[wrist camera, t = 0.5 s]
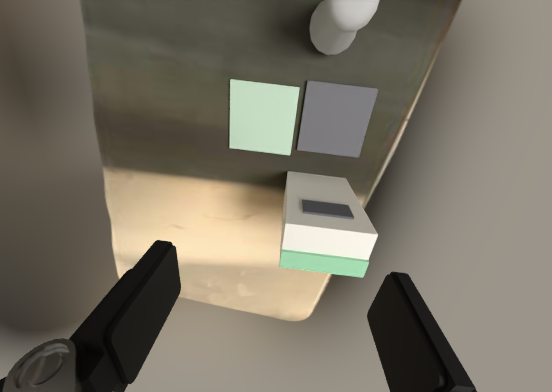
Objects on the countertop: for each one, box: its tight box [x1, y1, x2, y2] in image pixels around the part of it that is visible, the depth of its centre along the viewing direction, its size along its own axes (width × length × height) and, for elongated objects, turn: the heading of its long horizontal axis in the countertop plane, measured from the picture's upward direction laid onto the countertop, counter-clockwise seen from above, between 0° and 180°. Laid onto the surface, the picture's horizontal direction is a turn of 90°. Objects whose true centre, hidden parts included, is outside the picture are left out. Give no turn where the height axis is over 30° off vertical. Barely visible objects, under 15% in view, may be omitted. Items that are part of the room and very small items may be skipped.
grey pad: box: [297, 81, 378, 157], centre depth 34 cm, size 10×10×1 cm
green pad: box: [230, 79, 299, 155], centre depth 34 cm, size 10×10×1 cm
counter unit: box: [279, 171, 378, 277], centre depth 32 cm, size 7×10×16 cm, turn 84°
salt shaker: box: [309, 0, 379, 55], centre depth 23 cm, size 6×6×13 cm
